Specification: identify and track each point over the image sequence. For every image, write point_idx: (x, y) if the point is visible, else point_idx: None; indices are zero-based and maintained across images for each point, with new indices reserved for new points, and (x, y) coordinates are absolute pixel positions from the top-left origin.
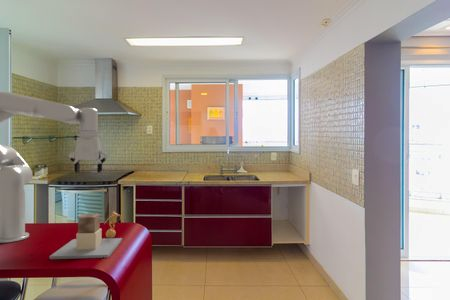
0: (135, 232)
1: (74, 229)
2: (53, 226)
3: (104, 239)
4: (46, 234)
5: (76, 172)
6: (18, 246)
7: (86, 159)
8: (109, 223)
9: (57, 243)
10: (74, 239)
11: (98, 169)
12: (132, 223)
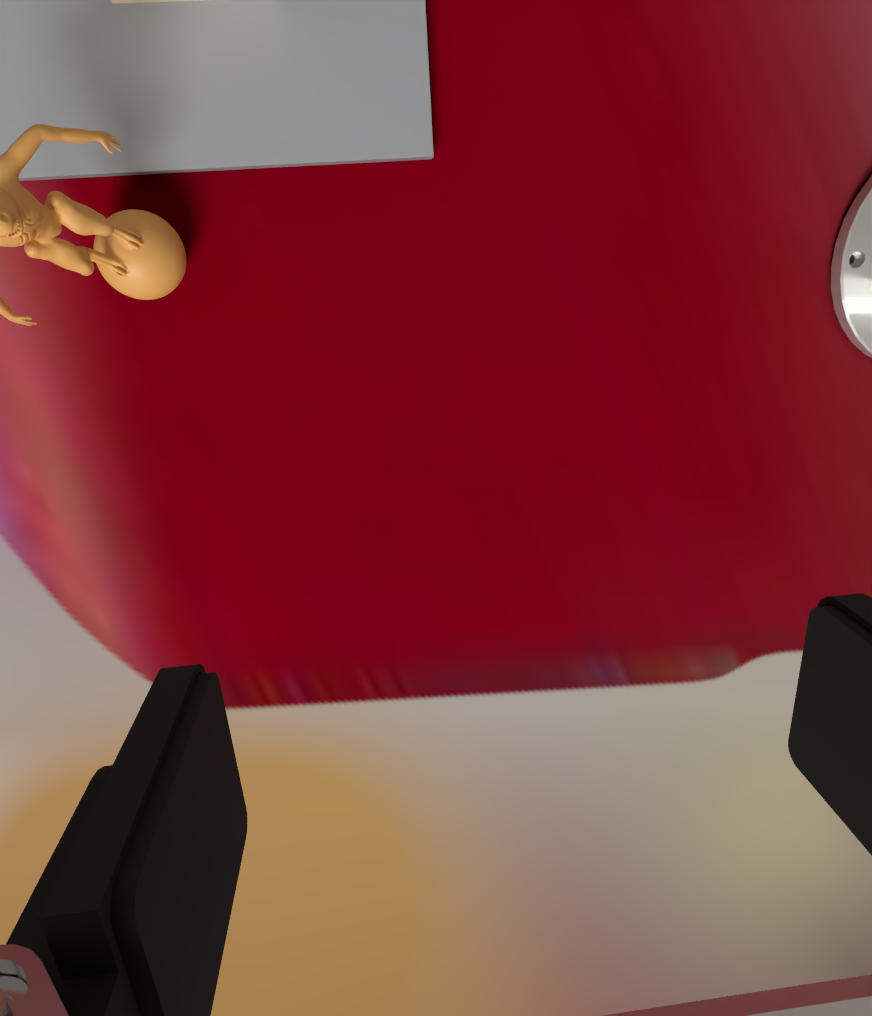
0: (16, 434)
1: (569, 509)
2: (756, 582)
3: (148, 136)
4: (725, 369)
5: (824, 602)
6: (809, 29)
7: (747, 1001)
8: (99, 216)
9: (538, 106)
10: (419, 145)
11: (148, 721)
12: None
